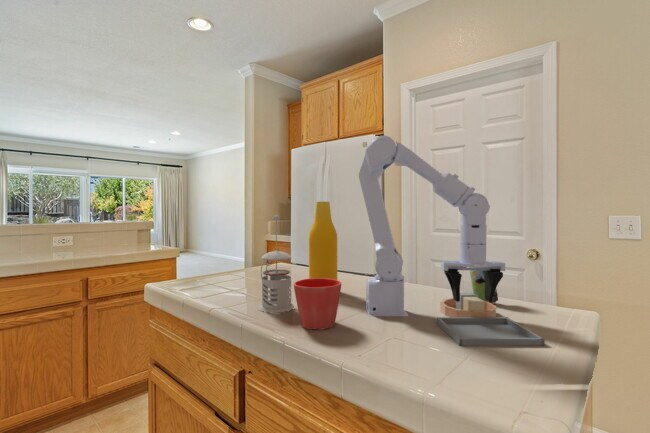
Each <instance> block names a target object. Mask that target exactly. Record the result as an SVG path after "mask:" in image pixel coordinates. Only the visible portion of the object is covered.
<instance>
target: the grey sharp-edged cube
mask: <svg viewBox="0 0 650 433" xmlns="http://www.w3.org/2000/svg"><path fill="white" fill-rule="evenodd" d="M463 297H477V295H476V294H474V293H473V291H460V301H459V302H457V301H456V309H460V310H463Z"/></svg>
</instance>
